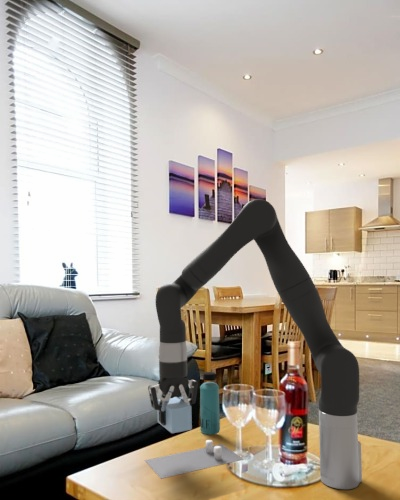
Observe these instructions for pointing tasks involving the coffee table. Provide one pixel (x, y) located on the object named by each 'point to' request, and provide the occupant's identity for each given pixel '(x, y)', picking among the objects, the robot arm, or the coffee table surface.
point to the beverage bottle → (209, 405)
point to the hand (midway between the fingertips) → (174, 422)
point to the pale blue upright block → (177, 416)
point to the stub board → (192, 460)
